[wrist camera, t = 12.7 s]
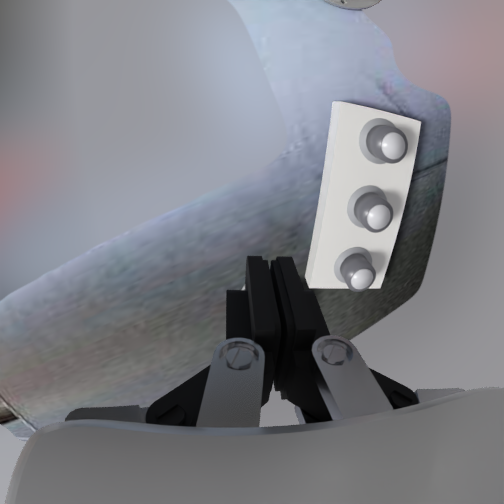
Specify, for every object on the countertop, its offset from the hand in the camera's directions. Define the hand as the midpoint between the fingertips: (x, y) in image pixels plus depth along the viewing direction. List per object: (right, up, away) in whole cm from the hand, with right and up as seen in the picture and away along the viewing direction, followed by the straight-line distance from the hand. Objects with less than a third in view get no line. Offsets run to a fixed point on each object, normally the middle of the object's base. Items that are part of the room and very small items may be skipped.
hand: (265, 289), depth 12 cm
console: (+15, +9, +29) cm, 34 cm away
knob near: (+16, +15, +22) cm, 31 cm away
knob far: (+14, -1, +30) cm, 33 cm away
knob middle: (+15, +7, +26) cm, 31 cm away
